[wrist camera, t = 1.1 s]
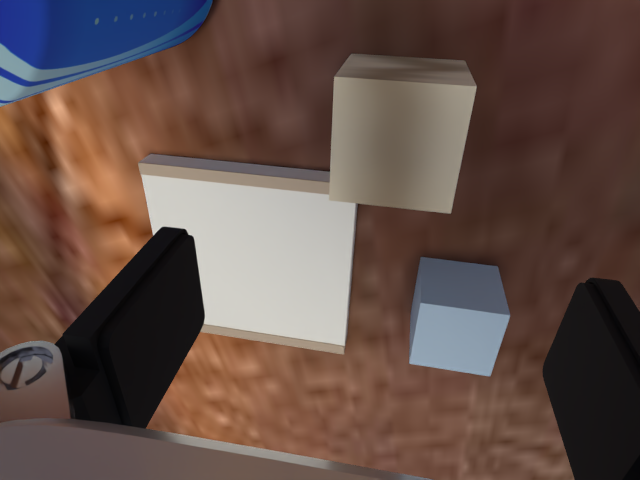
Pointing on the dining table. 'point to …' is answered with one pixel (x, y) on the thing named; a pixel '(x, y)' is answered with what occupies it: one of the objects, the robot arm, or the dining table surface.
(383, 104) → the maple cube
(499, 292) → the blue cube
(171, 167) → the base board
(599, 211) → the dining table surface
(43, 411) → the robot arm
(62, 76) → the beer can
